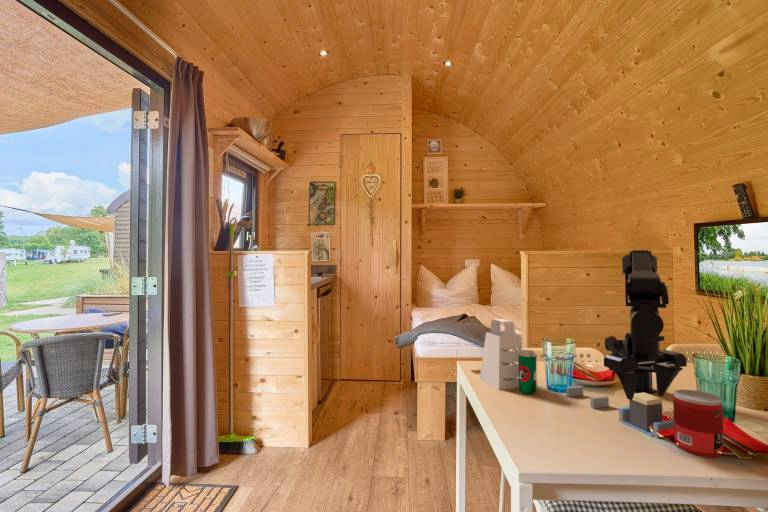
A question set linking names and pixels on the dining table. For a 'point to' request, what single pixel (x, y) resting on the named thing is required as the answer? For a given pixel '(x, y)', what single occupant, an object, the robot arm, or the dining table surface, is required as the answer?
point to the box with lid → (645, 410)
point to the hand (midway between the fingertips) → (645, 397)
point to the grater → (501, 356)
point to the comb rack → (623, 412)
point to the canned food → (698, 422)
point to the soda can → (527, 372)
